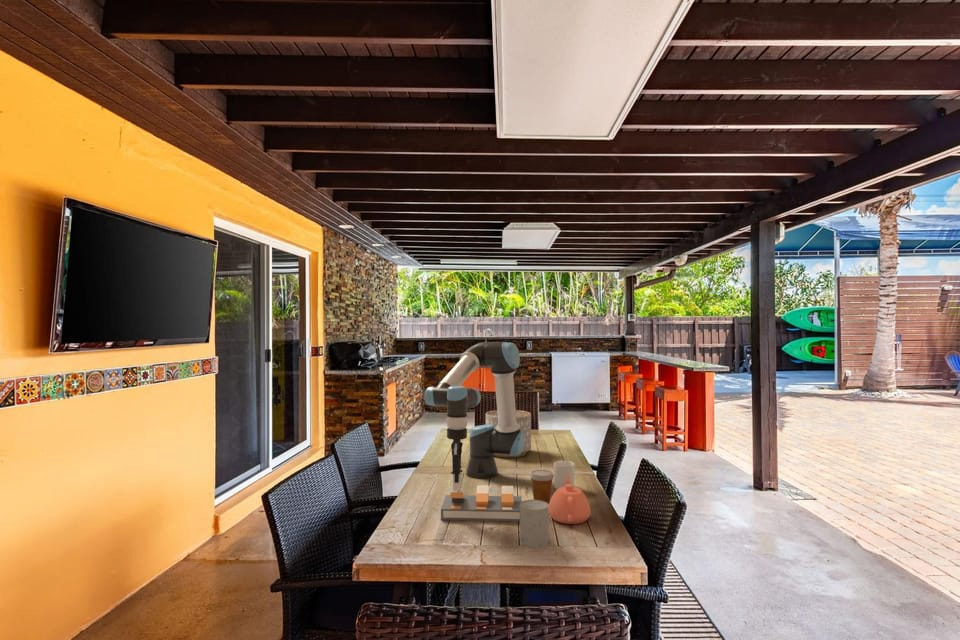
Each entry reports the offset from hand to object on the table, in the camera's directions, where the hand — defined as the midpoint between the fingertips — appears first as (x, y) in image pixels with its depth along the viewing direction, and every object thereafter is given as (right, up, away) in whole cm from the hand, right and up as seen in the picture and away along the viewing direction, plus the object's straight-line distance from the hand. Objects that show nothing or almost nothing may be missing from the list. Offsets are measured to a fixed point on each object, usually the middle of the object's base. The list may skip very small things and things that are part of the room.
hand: (456, 490), depth 197 cm
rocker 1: (0, -3, +4) cm, 5 cm away
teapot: (+42, -10, -2) cm, 43 cm away
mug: (+46, -10, +34) cm, 58 cm away
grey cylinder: (+27, -10, -23) cm, 37 cm away
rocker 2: (+10, -3, +3) cm, 11 cm away
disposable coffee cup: (+34, -10, +15) cm, 38 cm away
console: (+10, -10, +3) cm, 14 cm away
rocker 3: (+19, -3, +2) cm, 20 cm away
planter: (+25, -11, +97) cm, 101 cm away
